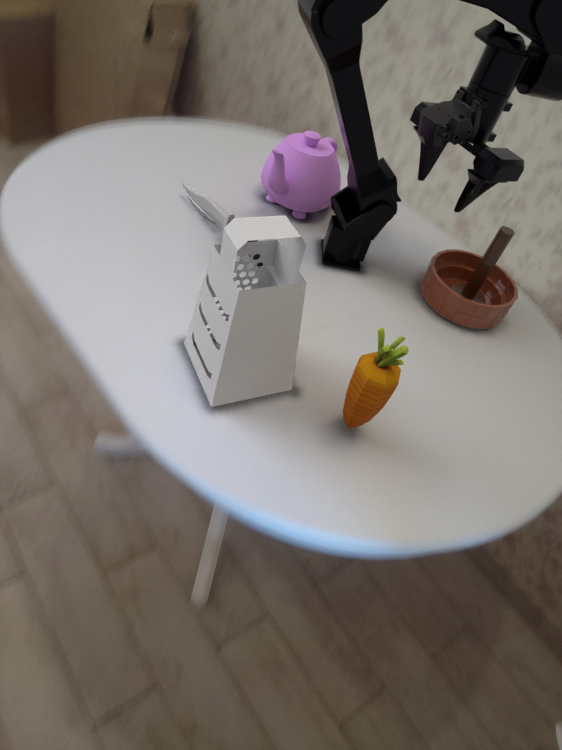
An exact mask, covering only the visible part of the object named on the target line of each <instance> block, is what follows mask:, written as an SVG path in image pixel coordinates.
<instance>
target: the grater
mask: <svg viewBox="0 0 562 750" xmlns="http://www.w3.org/2000/svg"><path fill="white" fill-rule="evenodd" d="M278 239H286V241H285V242H286V243H285V246H284V247H283V246H282V244H281V243H280V241H279V240H278ZM252 240H258V241H256V242H247V241H252ZM306 248H307V243H306V242H305V241H304V238H303V237H302V236H301V235H300V233H299V232H298V230H297V229H296V228H295V226H294V225H293V223H292V222H291V220H290V219H289V218H288V217H287V215H285V214H284V215H268V216H250V217H248V216H247V217H246V216H245V217H235V218H234V219H233V220H232V221H231V222H230V223H228V224H227V225H226V226H225V227H224V231H223V234H222V238H221V243H219V244H213V246H212V248H211V249H212V250H211V253H210V255H209V259H208V262H207V266H206V268H205V269H206V270H205V273H204V276H203V279H202V283H201V284H200V285H201V286H200V290H199V292H198V295H197V299H196V302H195V305H194V308H193V312H192V316H191V319H190V321H189V325H188V329H187V332H186V335H185V338H184V341H183V344H184V347H185V349H186V351H187V354H188V356H189V358H190V361H191V363H192V366H193V368H194V371H195V372H196V375H197V378H198V379H199V382H200V384H201V387H202V390H203V392H204V395H205V396H206V398H207V401H208V403H209V406H210V407H211V408H214V407H218V406H219V407H220V406H223V405H228V404H233V403H238V402H242V401H247V400H251V399H256V398H260V397H265V396H269V395H274V394H280V393H284V392H288V391H292V390H293V384H294V377H295V370H296V363H297V356H298V355H297V354H298V347H299V340H300V334H301V333H300V332H301V326H302V318H303V311H304V303H305V296H306V289H307V281H306V280H305V278H304V277H303V275H302V273H301V272H300V270H301V266H302V262H303V258H304V255H305V252H306ZM256 254H259V255H260V258H259V259H258V260H254V259H253V256H254V255H256ZM249 255H250V256H251V257H250V256H249ZM246 256H249V257H250V258H249V259H248V260H245V259H244V258H245V257H246ZM237 257H240V259H239V260H238V261H237ZM260 262H262V263H263V266H261V267H258V266H257V264H258V263H260ZM250 264H253V266H252V267H251V268H248V265H250ZM240 265H243V268H242V269H238V267H239V266H240ZM252 272H255V273H254V274H253V275H249V274H250V273H252ZM242 273H245V275H244V276H240V274H242ZM234 274H236V276H234ZM254 279H257V280H258V281H257V282H255V283H253V282H252V281H253V280H254ZM246 280H248V283H246V284H244V281H246ZM236 281H239V284H237V283H236ZM247 287H250V288H249V289H246V288H247ZM240 288H241V290H240ZM214 298H216V299H217V300H215V299H214ZM217 304H218V305H220V306H218V305H217ZM221 311H223V313H221ZM224 317H225V318H224ZM207 326H208V327H209V328H208V327H207ZM210 332H211V333H210ZM213 339H214V340H215V342H216V343H217V344H220V346H219V349H218V347H216V345H215V343H214V341H213ZM194 342H195V345H196V347H197V349H198V351H197V349H196V347H195V345H194ZM198 352H199V354H200V356H201V358H202V360H203V363H204V365H205V367H206V369H207V371H208V373H211V377H209V376H208V374H207V372H206V370H205V367H204V365H203V363H202V361H201V359H200V356H199V354H198Z"/></svg>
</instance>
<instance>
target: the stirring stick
mask: <svg viewBox="0 0 562 750" xmlns="http://www.w3.org/2000/svg"><path fill="white" fill-rule="evenodd" d="M515 233H516V232H515V230H513V228H511V227H509V226H506V225H502V226H500V227H499V229H498V230H497V232H496V234H495V235H494V237H493V238H492V240H491V242H490V243H489V245H488V247H487V249H486V250H485V252H484V253H483V255H482V256H483V257H482V259H481V260H480V262H479V264H478V265H477V267H476V269H475V270H474V272H473V274H472V275H471V277H470V279H469V280H468V282H467V283H454V284H453V285H451V287H450V288H451V289H452V290H453V291H455V292H456V293H458V294H460V295H461V296H463V297H465V298H467V299H470V300H472V301H475V302H478V303H482V304H485V302H486V299H485V297H484V295H483V294H482V292H481V291H479V289H480V288H481V286H482V285H483V283H484V282H485V280H486V278H487V277H488V275H489V274H490V272H491V271H492V269H493V267H494V266H495V264H497V263H498V262H499V260H500V258H501V257H502V255H503V254H504V251H505V250H506V249H507V247H508V245H509V244H510V242H511V240H512V239H513V237H514V236H515Z"/></svg>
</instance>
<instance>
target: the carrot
mask: <svg viewBox="0 0 562 750" xmlns="http://www.w3.org/2000/svg"><path fill="white" fill-rule="evenodd" d="M385 335H386V333H385V328H384V327H380V328H378V329H377V337H378V338H377V351H373V352H369V353H364V354H362V355H361V356H359V358H358V361H357V362H356V365H355V367H354V370H353V372H352V375H351V377H350V380H349V383H348V386H347V389H346V392H345V397H344V400H343V407H342V418H343V421H344V424H345V427H346V428H347V429H350V430H353V429H356V428H359V427H362V426H364V425H365V424H367V423H369V422H370V421H371V420H372V419H374V418H375V417H376V416H377V415H378V414H379V413H380V412H381V411H382V410H383V409H384V407H385V406H386V405H387V403H388V401H389V400H390V398H391V397H392V395H393V394H394V392H395V391H396V389H397V388H398V386H399V382H400V377H401V372H402V369H401V367H400V366H404V360H402V359H401V358H403V357H405V356H406V355H408V353H409V348H408V346H407V345H401V344H402V343H403V342H404V341H405V340H406V337H405V336H402V335H400V336H398V337H397V338H396V339H394V341H393V342H392V343H391V344H390V345H389V344H386V345H385V339H386V337H385ZM400 345H401V346H400Z"/></svg>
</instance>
